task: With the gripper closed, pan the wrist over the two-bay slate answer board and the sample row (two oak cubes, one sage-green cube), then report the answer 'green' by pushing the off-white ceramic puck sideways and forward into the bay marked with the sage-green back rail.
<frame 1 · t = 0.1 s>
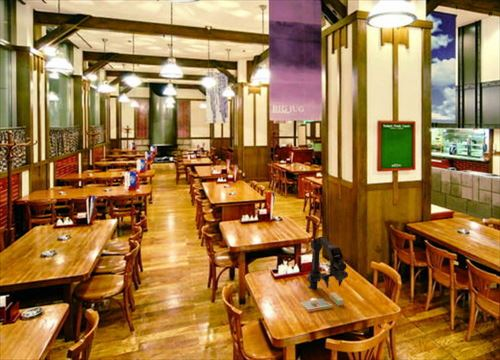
hand: (333, 287, 240), 14 cm above the table, fingers open, 9 cm apart
answer board: (316, 306, 243), on the table
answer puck: (314, 303, 246), point 1 cm above the table, touching answer board
sample row: (336, 302, 248), on the table
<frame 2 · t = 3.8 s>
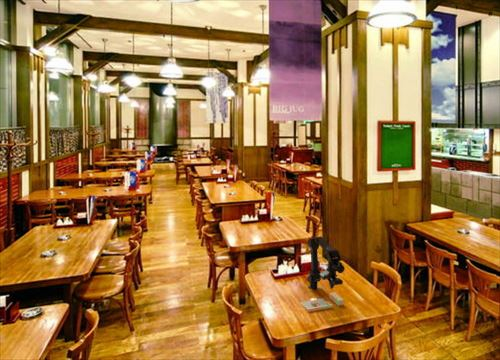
hand: (331, 288, 245), 11 cm above the table, fingers closed
nothing on the table moved.
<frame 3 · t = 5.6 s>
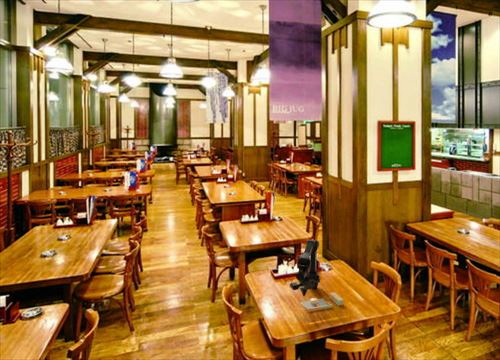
hand: (303, 296, 242), 7 cm above the table, fingers closed
nothing on the table moved.
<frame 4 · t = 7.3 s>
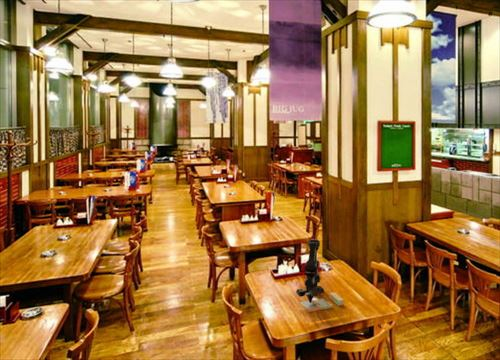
hand: (309, 302, 245), 2 cm above the table, fingers closed
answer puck: (314, 303, 246), point 1 cm above the table, touching answer board, gripper
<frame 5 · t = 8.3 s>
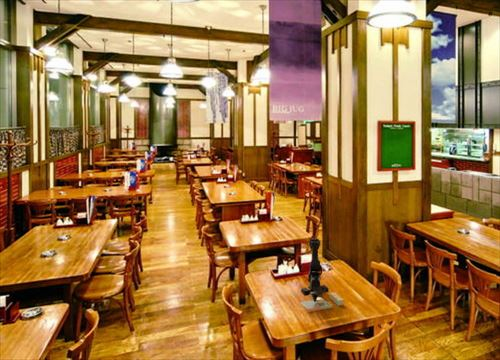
hand: (314, 301, 246), 2 cm above the table, fingers closed
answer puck: (319, 302, 247), point 1 cm above the table, touching answer board, gripper
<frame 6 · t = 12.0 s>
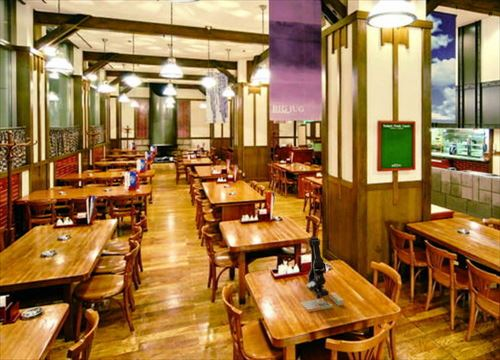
hand: (318, 299, 248), 2 cm above the table, fingers closed
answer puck: (320, 303, 245), point 1 cm above the table, touching answer board, gripper
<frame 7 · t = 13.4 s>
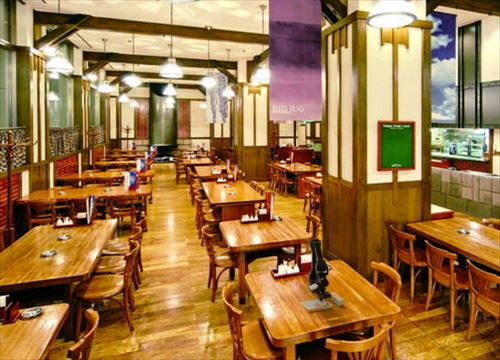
hand: (320, 301, 245), 2 cm above the table, fingers closed
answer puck: (322, 305, 242), point 1 cm above the table, touching answer board
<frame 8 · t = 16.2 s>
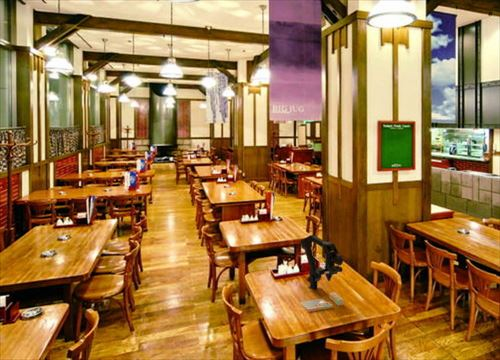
hand: (328, 281, 254), 12 cm above the table, fingers closed
nothing on the table moved.
at the end: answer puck inside the target area (0.8 cm from its centre), point 1.0 cm above the table; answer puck moved 6.5 cm from its start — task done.
